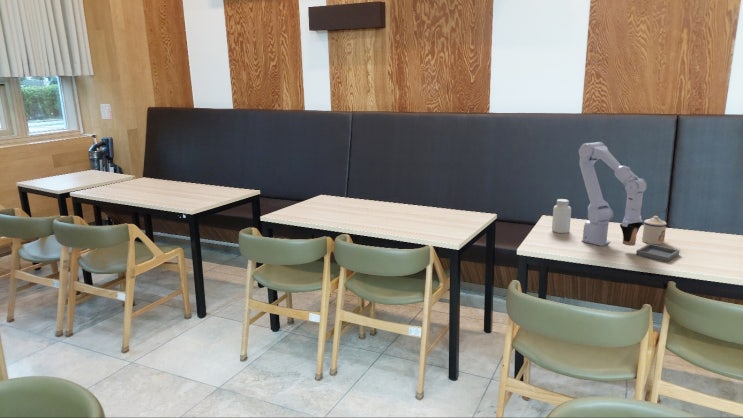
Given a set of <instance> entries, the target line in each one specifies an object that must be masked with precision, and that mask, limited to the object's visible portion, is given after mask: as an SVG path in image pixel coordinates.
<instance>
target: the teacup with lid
mask: <svg viewBox="0 0 743 418" xmlns="http://www.w3.org/2000/svg"><path fill="white" fill-rule="evenodd" d="M667 225H668V223H667V222H666V221H665V220H662V219H661V218H659V216H657V215H654V216H653V217H651V218H649V219H647V218H646V219H645V220H643V229H642V230H643V231H642V236H641V241H642V242H644V243H646V244H647V245H648V244H653V245H657V246H660V245H662V244H664V242H665V236H666V229H667Z"/></svg>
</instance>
